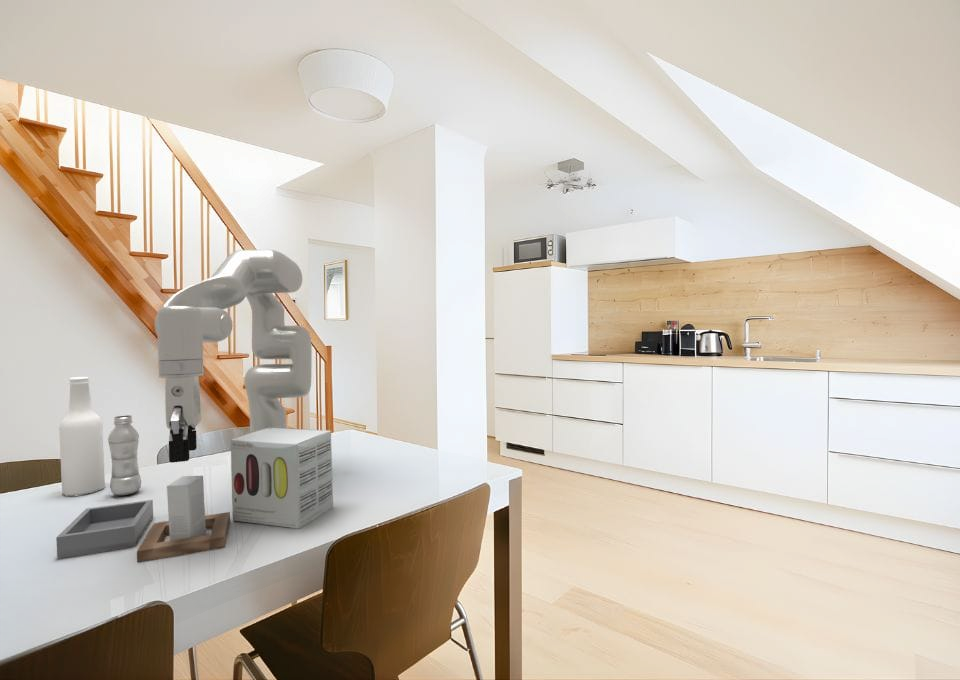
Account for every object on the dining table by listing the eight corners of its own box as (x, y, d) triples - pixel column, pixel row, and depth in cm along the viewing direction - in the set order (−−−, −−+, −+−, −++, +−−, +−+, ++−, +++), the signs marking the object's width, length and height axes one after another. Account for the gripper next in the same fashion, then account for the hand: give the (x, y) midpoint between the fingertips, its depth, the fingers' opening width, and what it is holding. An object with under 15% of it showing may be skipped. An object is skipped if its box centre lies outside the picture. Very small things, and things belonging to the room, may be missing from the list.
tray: (153, 517, 110) (152, 499, 110) (135, 546, 95) (134, 525, 95) (87, 527, 105) (86, 508, 105) (57, 559, 91) (56, 537, 90)
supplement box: (230, 522, 106) (227, 439, 106) (271, 501, 119) (269, 426, 119) (299, 530, 102) (297, 443, 101) (335, 506, 114) (332, 429, 114)
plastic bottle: (125, 499, 122) (122, 419, 122) (103, 497, 124) (100, 418, 123) (148, 490, 129) (145, 414, 128) (126, 489, 130) (123, 414, 130)
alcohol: (81, 485, 134) (77, 375, 133) (113, 485, 134) (108, 375, 133) (52, 497, 125) (47, 379, 124) (86, 496, 125) (81, 378, 124)
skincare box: (184, 534, 101) (182, 475, 100) (206, 532, 101) (204, 475, 101) (168, 547, 95) (165, 485, 94) (191, 546, 95) (189, 484, 95)
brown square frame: (230, 521, 107) (229, 511, 107) (224, 547, 94) (224, 536, 94) (154, 532, 102) (153, 523, 101) (137, 562, 89) (136, 551, 89)
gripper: (197, 370, 90) (199, 463, 90) (208, 365, 106) (210, 445, 106) (148, 372, 87) (151, 468, 88) (167, 367, 103) (169, 448, 103)
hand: (183, 455), depth 97 cm, fingers open, 9 cm apart
